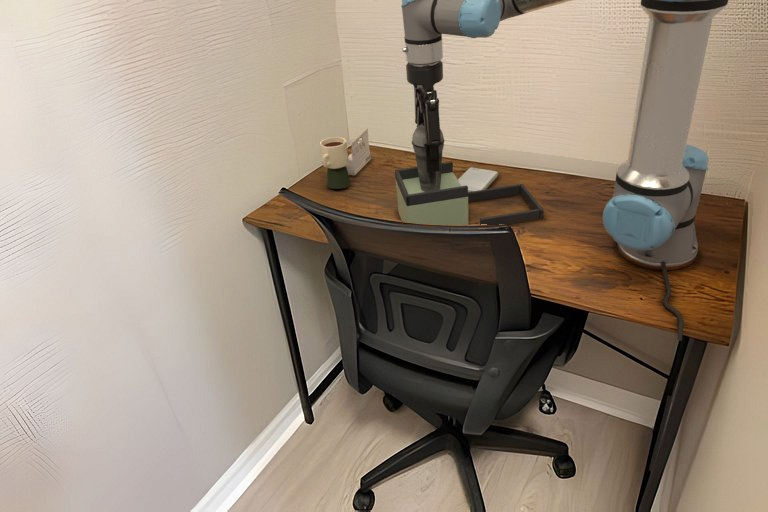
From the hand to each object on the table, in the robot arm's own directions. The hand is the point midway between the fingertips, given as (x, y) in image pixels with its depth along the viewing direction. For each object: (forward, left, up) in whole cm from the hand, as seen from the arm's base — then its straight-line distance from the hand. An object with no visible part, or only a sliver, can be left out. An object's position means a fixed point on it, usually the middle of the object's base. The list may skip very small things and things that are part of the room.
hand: (429, 163), depth 134 cm
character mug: (+26, +20, -15) cm, 36 cm away
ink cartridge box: (+36, +13, -15) cm, 41 cm away
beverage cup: (0, 0, -6) cm, 6 cm away
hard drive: (+15, -15, -15) cm, 26 cm away
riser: (0, -9, -15) cm, 18 cm away
